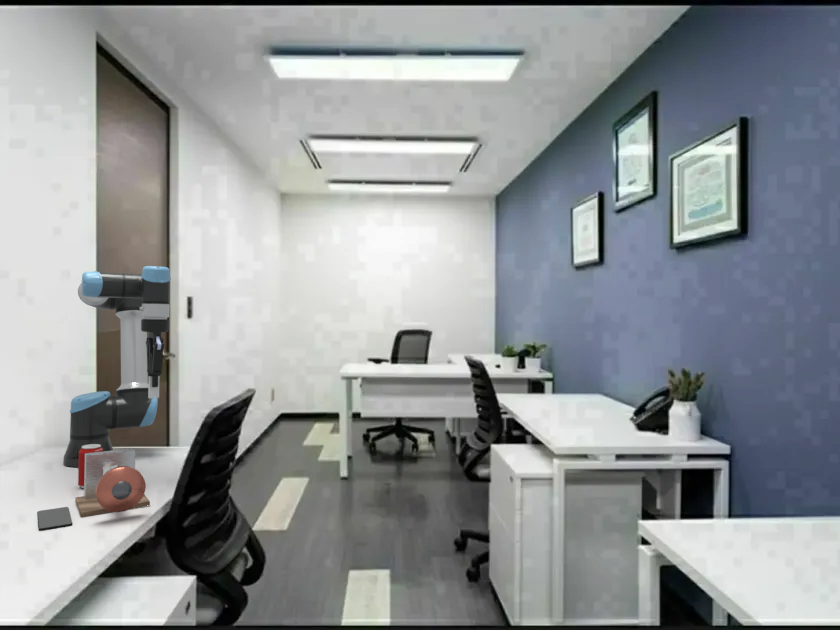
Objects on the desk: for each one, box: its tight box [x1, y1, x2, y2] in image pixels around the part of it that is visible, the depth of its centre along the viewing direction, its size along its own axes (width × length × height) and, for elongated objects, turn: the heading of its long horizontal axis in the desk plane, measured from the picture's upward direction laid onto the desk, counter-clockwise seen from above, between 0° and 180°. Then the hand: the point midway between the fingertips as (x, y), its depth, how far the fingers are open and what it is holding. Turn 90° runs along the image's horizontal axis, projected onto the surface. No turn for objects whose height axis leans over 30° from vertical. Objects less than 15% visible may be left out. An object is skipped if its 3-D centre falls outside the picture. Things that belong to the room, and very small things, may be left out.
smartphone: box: [36, 506, 73, 532], centre depth 144 cm, size 7×1×15 cm
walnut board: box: [74, 493, 151, 518], centre depth 156 cm, size 14×16×1 cm
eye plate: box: [83, 447, 136, 500], centre depth 160 cm, size 3×12×13 cm, turn 126°
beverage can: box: [77, 444, 103, 490], centre depth 170 cm, size 6×6×12 cm
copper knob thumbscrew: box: [96, 466, 147, 513], centre depth 150 cm, size 16×11×11 cm
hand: (153, 397), depth 171 cm, fingers closed
